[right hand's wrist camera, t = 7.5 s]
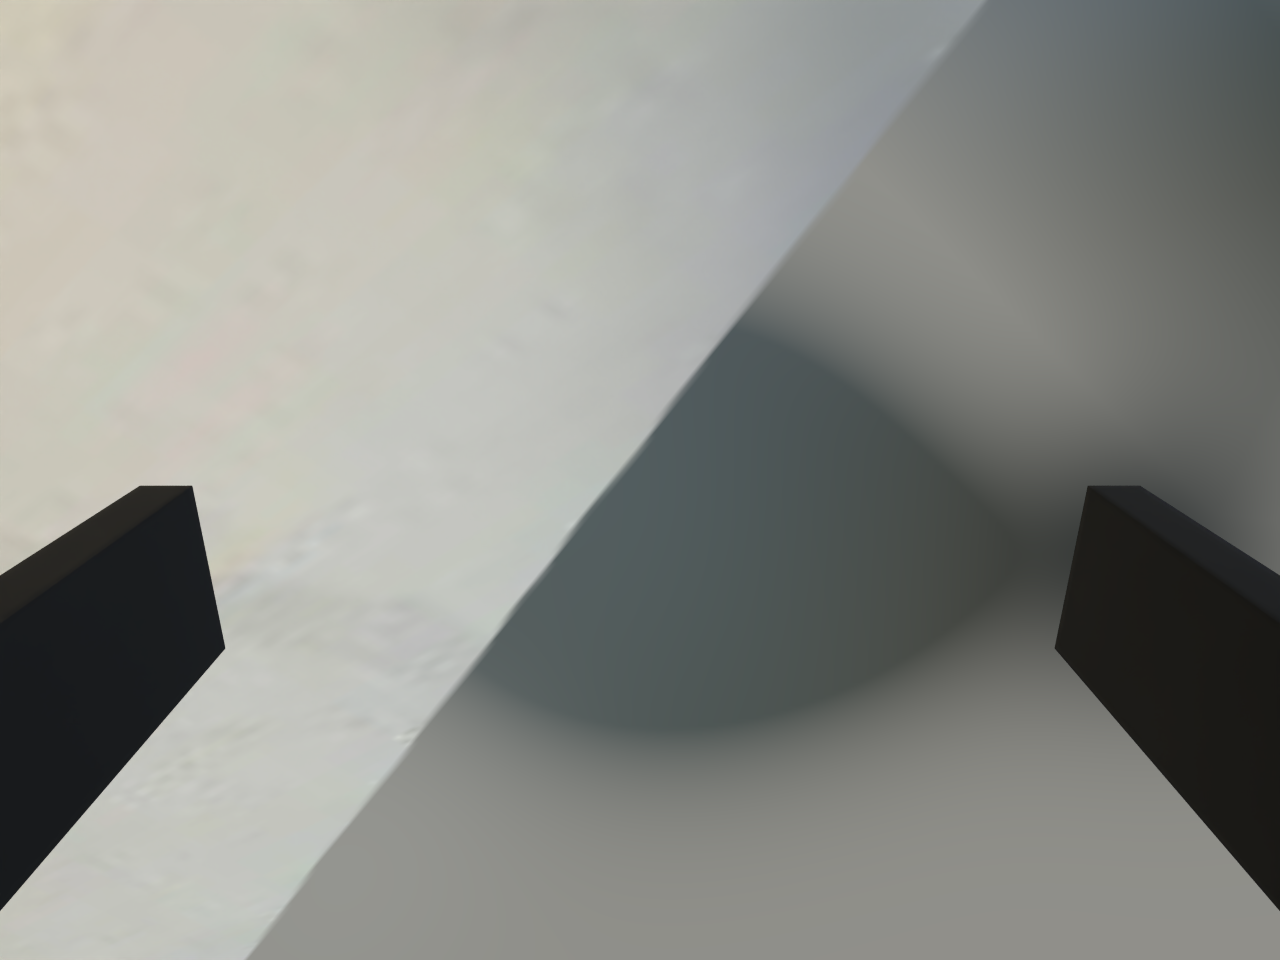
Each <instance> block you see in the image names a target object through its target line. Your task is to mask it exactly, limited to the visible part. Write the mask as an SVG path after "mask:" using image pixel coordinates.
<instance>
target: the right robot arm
mask: <svg viewBox="0 0 1280 960" xmlns="http://www.w3.org/2000/svg"><path fill="white" fill-rule="evenodd" d="M224 649H225V644H224V639H223V634H222V630H221V625H220V620H219V615H218V610H217V605H216V600H215V595H214V590H213V585H212V580H211V576H210V571H209V566H208V561H207V556H206V551H205V546H204V541H203V536H202V531H201V527H200V522H199V517H198V512H197V507H196V502H195V497H194V492H193V487H192V486H139V487H137V488H136V489H134V490H133V491H131V492H130V493H128V494H126V495H125V496H123V497H122V498H120V499H119V500H117V501H116V502H114V503H112V504H111V505H109V506H108V507H106V508H105V509H103V510H101V511H100V512H98V513H97V514H95V515H94V516H92V517H91V518H89V519H87V520H86V521H84V522H83V523H81V524H80V525H78V526H77V527H75V528H73V529H72V530H70V531H69V532H67V533H66V534H64V535H63V536H61V537H59V538H58V539H56V540H55V541H53V542H52V543H50V544H49V545H47V546H45V547H44V548H42V549H41V550H39V551H38V552H36V553H35V554H33V555H31V556H30V557H28V558H27V559H25V560H24V561H22V562H21V563H19V564H17V565H16V566H14V567H13V568H11V569H10V570H8V571H6V572H5V573H3V574H2V575H0V911H1V909H2V908H3V907H4V906H5V905H6V904H7V902H8V901H9V900H10V899H11V898H12V897H13V895H14V894H15V893H16V892H17V891H18V890H19V888H20V887H21V886H22V885H23V884H24V883H25V881H26V880H27V879H28V878H29V877H30V876H31V874H32V873H33V872H34V871H35V870H36V869H37V867H38V866H39V865H40V864H41V863H42V862H43V860H44V859H45V858H46V857H47V856H48V855H49V853H50V852H51V851H52V850H53V849H54V848H55V846H56V845H57V844H58V843H59V842H60V841H61V839H62V838H63V837H64V836H65V835H66V834H67V832H68V831H69V830H70V829H71V828H72V827H73V825H74V824H75V823H76V822H77V821H78V820H79V818H80V817H81V816H82V815H83V814H84V813H85V811H86V810H87V809H88V808H89V807H90V806H91V804H92V803H93V802H94V801H95V800H96V799H97V797H98V796H99V795H100V794H101V793H102V792H103V790H104V789H105V788H106V787H107V786H108V785H109V783H110V782H111V781H112V780H113V779H114V778H115V776H116V775H117V774H118V773H119V772H120V771H121V769H122V768H123V767H124V766H125V765H126V764H127V762H128V761H129V760H130V759H131V758H132V757H133V755H134V754H135V753H136V752H137V751H138V750H139V748H140V747H141V746H142V745H143V744H144V743H145V741H146V740H147V739H148V738H149V737H150V736H151V734H152V733H153V732H154V731H155V730H156V729H157V727H158V726H159V725H160V724H161V723H162V722H163V720H164V719H165V718H166V717H167V716H168V715H169V713H170V712H171V711H172V710H173V709H174V708H175V706H176V705H177V704H178V703H179V702H180V701H181V699H182V698H183V697H184V696H185V695H186V694H187V692H188V691H189V690H190V689H191V688H192V687H193V685H194V684H195V683H196V682H197V681H198V680H199V678H200V677H201V676H202V675H203V674H204V673H205V671H206V670H207V669H208V668H209V667H210V666H211V664H212V663H213V662H214V661H215V660H216V659H217V657H218V656H219V655H220V654H221V653H222V652H223V650H224ZM1055 649H1056V650H1057V652H1058V653H1059V654H1060V655H1061V656H1062V657H1063V659H1064V660H1065V661H1066V662H1067V663H1068V664H1069V666H1070V667H1071V668H1072V669H1073V670H1074V671H1075V673H1076V674H1077V675H1078V676H1079V677H1080V678H1081V680H1082V681H1083V682H1084V683H1085V684H1086V685H1087V687H1088V688H1089V689H1090V690H1091V691H1092V692H1093V694H1094V695H1095V696H1096V697H1097V698H1098V699H1099V701H1100V702H1101V703H1102V704H1103V705H1104V706H1105V708H1106V709H1107V710H1108V711H1109V712H1110V713H1111V715H1112V716H1113V717H1114V718H1115V719H1116V720H1117V722H1118V723H1119V724H1120V725H1121V726H1122V727H1123V729H1124V730H1125V731H1126V732H1127V733H1128V734H1129V736H1130V737H1131V738H1132V739H1133V740H1134V741H1135V743H1136V744H1137V745H1138V746H1139V747H1140V748H1141V750H1142V751H1143V752H1144V753H1145V754H1146V755H1147V757H1148V758H1149V759H1150V760H1151V761H1152V762H1153V764H1154V765H1155V766H1156V767H1157V768H1158V769H1159V771H1160V772H1161V773H1162V774H1163V775H1164V776H1165V778H1166V779H1167V780H1168V781H1169V782H1170V783H1171V785H1172V786H1173V787H1174V788H1175V789H1176V790H1177V791H1178V793H1179V794H1180V795H1181V796H1182V797H1183V799H1184V800H1185V801H1186V802H1187V803H1188V804H1189V806H1190V807H1191V808H1192V809H1193V810H1194V811H1195V813H1196V814H1197V815H1198V816H1199V817H1200V818H1201V820H1202V821H1203V822H1204V823H1205V824H1206V825H1207V827H1208V828H1209V829H1210V830H1211V831H1212V832H1213V834H1214V835H1215V836H1216V837H1217V838H1218V839H1219V841H1220V842H1221V843H1222V844H1223V845H1224V846H1225V848H1226V849H1227V850H1228V851H1229V852H1230V853H1231V854H1232V856H1233V857H1234V858H1235V859H1236V860H1237V861H1238V863H1239V864H1240V865H1241V866H1242V867H1243V869H1244V870H1245V871H1246V872H1247V873H1248V874H1249V876H1250V877H1251V878H1252V879H1253V880H1254V881H1255V883H1256V884H1257V885H1258V886H1259V887H1260V888H1261V889H1262V891H1263V892H1264V893H1265V894H1266V895H1267V896H1268V898H1269V899H1270V900H1271V901H1272V902H1273V903H1274V905H1275V906H1276V907H1277V908H1278V909H1279V911H1280V575H1278V574H1277V573H1275V572H1274V571H1272V570H1270V569H1269V568H1267V567H1266V566H1264V565H1263V564H1261V563H1259V562H1258V561H1256V560H1255V559H1253V558H1252V557H1250V556H1249V555H1247V554H1245V553H1244V552H1242V551H1241V550H1239V549H1238V548H1236V547H1235V546H1233V545H1231V544H1230V543H1228V542H1227V541H1225V540H1224V539H1222V538H1221V537H1219V536H1217V535H1216V534H1214V533H1213V532H1211V531H1210V530H1208V529H1207V528H1205V527H1203V526H1202V525H1200V524H1199V523H1197V522H1196V521H1194V520H1192V519H1191V518H1189V517H1188V516H1186V515H1185V514H1183V513H1182V512H1180V511H1179V510H1177V509H1175V508H1174V507H1172V506H1171V505H1169V504H1168V503H1166V502H1164V501H1163V500H1161V499H1160V498H1158V497H1157V496H1155V495H1154V494H1152V493H1150V492H1149V491H1147V490H1146V489H1144V488H1143V487H1141V486H1088V487H1087V492H1086V497H1085V502H1084V507H1083V512H1082V517H1081V522H1080V527H1079V531H1078V536H1077V541H1076V546H1075V551H1074V556H1073V561H1072V566H1071V571H1070V576H1069V581H1068V586H1067V590H1066V595H1065V600H1064V605H1063V610H1062V615H1061V620H1060V625H1059V630H1058V634H1057V639H1056V644H1055Z"/></svg>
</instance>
